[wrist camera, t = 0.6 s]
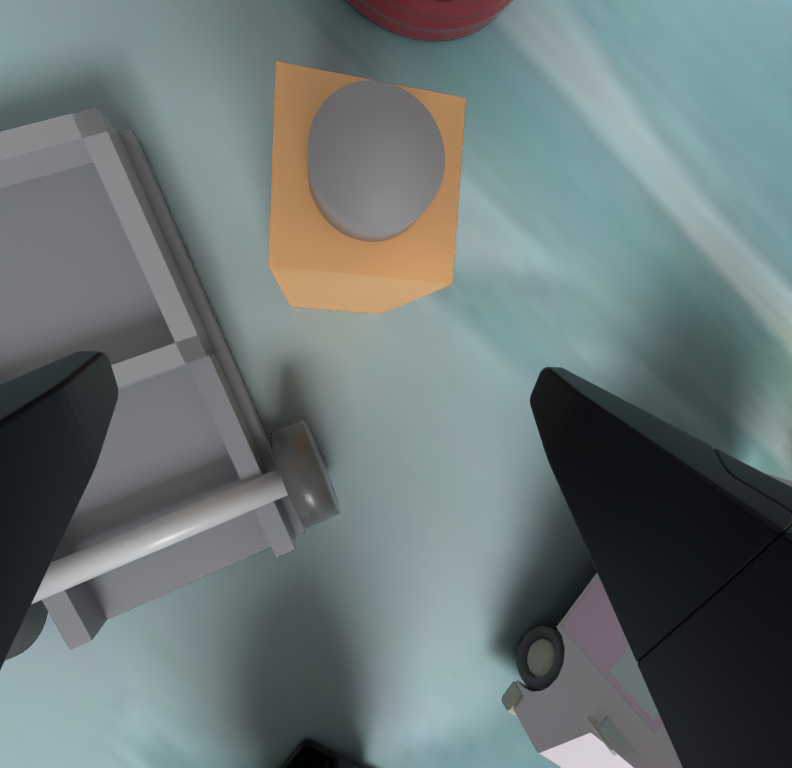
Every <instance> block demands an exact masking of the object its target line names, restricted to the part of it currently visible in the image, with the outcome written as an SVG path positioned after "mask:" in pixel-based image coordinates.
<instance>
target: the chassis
mask: <svg viewBox="0 0 792 768" xmlns="http://www.w3.org/2000/svg"><path fill="white" fill-rule="evenodd" d="M77 351H101V352H104V353H105V354H107V356H108V357H109V360H110V363H111V366H112V369H113V373H114V376H115V379H116V382H117V386H118V400H117V403H116V406H115V409H114V412H113V416H112V419H111V422H110V425H109V428H108V431H107V434H106V438H105V441H104V444H103V447H102V450H101V453H100V456H99V459H98V462H97V465H96V467H95V469H94V472H93V474H92V476H91V479H90V481H89V483H88V485H87V487H86V489H85V491H84V493H83V496H82V498H81V500H80V502H79V504H78V506H77V508H76V510H75V513H74V515H73V517H72V519H71V521H70V523H69V525H68V527H67V530H66V532H65V534H64V536H63V538H62V540H61V542H60V544H59V546H58V549H57V551H56V553H55V555H54V557H53V559H52V561H51V563H50V566H49V568H48V570H47V572H46V574H45V576H44V578H43V580H42V583H41V585H40V587H39V589H38V591H37V593H36V595H35V597H34V600H33V602H32V604H31V606H30V608H29V610H28V612H27V614H26V617H25V619H24V621H23V623H22V625H21V627H20V629H19V631H18V633H17V636H16V638H15V640H14V642H13V644H12V646H11V648H10V650H9V653H8V655H7V657H6V659H5V661H6V660H8V659H10V658H12V657H15V656H17V655H19V654H21V653H22V652H24V651H25V650H27V649H28V648H29V647H30V646H31V645H32V644H33V643H34V642H35V641H36V639H37V638H38V636H39V635H40V633H41V631H42V629H43V627H44V624H45V622H46V618H47V614H48V612H49V614H50V616H51V617H52V619H53V621H54V623H55V624H56V626H57V628H58V630H59V631H60V633H61V635H62V637H63V638H64V640H65V642H66V644H67V646H68V647H69V649H70V650H71V649H73V648H75V647H77V646H80V645H82V644H84V643H86V642H89V641H91V640H92V639H93V638H94V637H95V635H96V634H97V633H98V631H99V630H100V628H101V627H102V626H103V624H104V623H105V622H106V620H107V619H109V618H112V617H114V616H116V615H118V614H121V613H123V612H125V611H127V610H130V609H132V608H134V607H137V606H139V605H141V604H143V603H146V602H148V601H150V600H152V599H155V598H157V597H159V596H161V595H164V594H166V593H168V592H170V591H173V590H175V589H177V588H179V587H182V586H184V585H186V584H189V583H191V582H193V581H195V580H198V579H200V578H202V577H204V576H207V575H209V574H211V573H213V572H216V571H218V570H220V569H222V568H225V567H227V566H229V565H231V564H234V563H236V562H238V561H241V560H243V559H245V558H247V557H250V556H252V555H254V554H256V553H259V552H261V551H263V550H265V549H268V548H270V547H271V548H272V550H273V552H274V554H275V557H279V556H281V555H283V554H285V553H288V552H290V551H292V550H294V549H295V541H296V536H297V535H299V534H302V533H304V532H305V526H307V527H309V526H312V525H314V524H316V523H319V522H321V521H323V520H325V519H328V518H330V517H332V516H334V515H337V514H339V513H340V509H339V505H338V501H337V498H336V494H335V491H334V488H333V485H332V482H331V480H330V477H329V474H328V471H327V469H326V466H325V464H324V461H323V458H322V456H321V454H320V451H319V449H318V446H317V444H316V442H315V440H314V437H313V435H312V433H311V431H310V429H309V427H308V425H307V424H306V422H305V421H304V420H301V421H298V422H296V423H293V424H291V425H288V426H286V427H283V428H281V429H278V430H276V431H273V432H272V433H271V442H272V447H271V445H270V443H269V440H268V438H267V436H266V433H265V431H264V429H263V426H262V424H261V422H260V420H259V417H258V415H257V413H256V410H255V408H254V406H253V403H252V401H251V399H250V396H249V394H248V392H247V389H246V387H245V385H244V383H243V380H242V378H241V376H240V373H239V371H238V369H237V366H236V364H235V362H234V359H233V357H232V355H231V353H230V350H229V348H228V346H227V343H226V341H225V339H224V336H223V334H222V332H221V329H220V327H219V325H218V322H217V320H216V318H215V316H214V313H213V311H212V309H211V306H210V304H209V302H208V299H207V297H206V295H205V292H204V290H203V288H202V285H201V283H200V281H199V279H198V276H197V274H196V272H195V269H194V267H193V265H192V262H191V260H190V258H189V255H188V253H187V251H186V249H185V246H184V244H183V242H182V239H181V237H180V235H179V232H178V230H177V228H176V225H175V223H174V221H173V218H172V216H171V214H170V212H169V209H168V207H167V205H166V202H165V200H164V198H163V195H162V193H161V191H160V188H159V186H158V184H157V182H156V179H155V177H154V175H153V172H152V170H151V168H150V165H149V163H148V161H147V158H146V156H145V154H144V151H143V149H142V147H141V145H140V142H139V140H138V138H137V137H136V136H135V134H134V133H133V132H132V131H131V130H130V128H127V129H123V130H120V131H118V130H117V129H116V128H115V127H114V126H113V125H112V124H111V122H110V121H109V120H108V119H107V118H106V117H105V116H104V115H103V114H102V112H101V111H100V110H99V109H98V108H97V107H94V108H90V109H86V110H82V111H78V112H74V113H71V114H67V115H63V116H59V117H55V118H51V119H47V120H43V121H39V122H36V123H32V124H28V125H24V126H20V127H16V128H12V129H8V130H4V131H1V132H0V384H2V383H5V382H7V381H9V380H12V379H14V378H16V377H19V376H21V375H23V374H26V373H28V372H30V371H33V370H35V369H37V368H40V367H42V366H44V365H47V364H49V363H51V362H54V361H56V360H58V359H61V358H63V357H65V356H68V355H70V354H72V353H75V352H77ZM272 448H273V450H272Z"/></svg>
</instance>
